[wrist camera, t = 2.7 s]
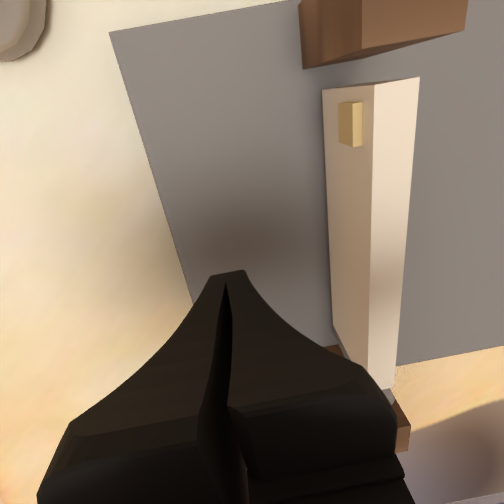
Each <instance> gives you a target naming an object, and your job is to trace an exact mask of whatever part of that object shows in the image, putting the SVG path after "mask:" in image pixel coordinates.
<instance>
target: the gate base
mask: <svg viewBox="0 0 504 504" xmlns="http://www.w3.org/2000/svg"><path fill="white" fill-rule="evenodd" d="M301 1H302V0H287V1H281V2H275V3H270V4H264V5H259V6H253V7H247V8H242V9H236V10H231V11H225V12H219V13H214V14H208V15H202V16H197V17H191V18H186V19H180V20H174V21H169V22H163V23H158V24H152V25H146V26H141V27H135V28H130V29H124V30H118V31H113V32H109V36H110V39H111V42H112V45H113V48H114V52H115V55H116V58H117V61H118V64H119V68H120V71H121V74H122V77H123V80H124V84H125V87H126V90H127V93H128V96H129V100H130V103H131V106H132V109H133V113H134V116H135V119H136V122H137V125H138V129H139V132H140V135H141V138H142V141H143V145H144V148H145V151H146V154H147V157H148V161H149V164H150V167H151V170H152V173H153V177H154V180H155V183H156V186H157V189H158V193H159V196H160V199H161V202H162V205H163V209H164V212H165V215H166V218H167V221H168V225H169V228H170V231H171V234H172V237H173V241H174V244H175V247H176V250H177V253H178V257H179V260H180V263H181V266H182V269H183V273H184V276H185V279H186V282H187V285H188V289H189V292H190V295H191V298H192V301H193V305H194V303H195V302H196V300H197V299H198V297H199V295H200V293H201V292H202V290H203V288H204V286H205V284H206V282H207V280H208V278H209V277H210V276H211V275H216V274H221V273H226V272H232V271H237V270H242V269H243V270H244V271H246V273H247V276H248V278H249V280H250V281H251V283H252V285H253V286H254V288H255V289H256V290H257V292H258V293H259V294H260V295H261V297H262V298H263V299H264V300H265V301H266V303H267V304H268V305H269V306H270V307H271V308H272V309H273V310H274V311H275V312H276V313H277V314H278V315H279V316H280V317H281V318H283V319H284V320H285V321H286V322H287V323H288V324H290V325H291V326H292V327H293V328H295V329H296V330H297V331H299V332H300V333H302V334H303V335H305V336H306V337H308V338H309V339H311V340H312V341H314V342H315V343H317V344H318V345H320V346H322V347H326V346H331V345H336V344H338V342H337V340H336V338H335V336H334V334H333V331H332V330H333V327H334V326H333V315H332V294H331V273H330V252H329V231H328V209H327V188H326V167H325V146H324V125H323V104H322V90H323V89H329V88H334V87H340V86H345V85H351V84H359V83H368V82H377V81H386V80H395V79H404V78H413V77H420V82H419V94H418V106H417V118H416V130H415V142H414V153H413V165H412V177H411V189H410V201H409V213H408V225H407V237H406V248H405V260H404V272H403V284H402V296H401V308H400V320H399V332H398V343H397V355H396V366H401V365H406V364H411V363H416V362H421V361H427V360H432V359H437V358H442V357H447V356H452V355H457V354H463V353H468V352H473V351H478V350H483V349H488V348H493V347H498V346H504V0H468V8H467V15H466V22H465V30H464V31H460V32H457V33H453V34H450V35H446V36H442V37H439V38H435V39H432V40H428V41H425V42H421V43H417V44H414V45H410V46H407V47H403V48H400V49H396V50H393V51H389V52H385V53H382V54H378V55H375V56H371V57H368V58H364V59H359V60H354V61H348V62H342V63H337V64H331V65H326V66H320V67H315V68H309V69H304V70H303V69H302V55H301V41H300V27H299V13H298V5H299V4H300V3H301Z"/></svg>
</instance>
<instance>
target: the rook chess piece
mask: <svg viewBox="0 0 504 504" xmlns="http://www.w3.org/2000/svg"><path fill="white" fill-rule="evenodd" d="M45 11H46V0H0V61H14V60H15V59H17V58H19V57H21V56H22V55H24V54H26V53H28V52H29V51H31V50H32V49H33V48H34V46H35V44H36V42H37V41H38V39H39V37H40V35H41V34H42V32H43V30H44V24H45Z"/></svg>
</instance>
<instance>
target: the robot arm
mask: <svg viewBox="0 0 504 504" xmlns="http://www.w3.org/2000/svg"><path fill="white" fill-rule="evenodd" d="M397 429H398V422H397V415H396V413H395V412H394V409H393V407H392V405H391V404H390V402H389V400H388V399H387V397H386V396H385V394H384V393H383V391H382V390H381V389H380V387H379V386H378V385H377V383H376V382H375V381H374V379H373V378H372V377H371V376H370V374H369V373H368V372H367V371H366V369H365V368H364V367H363V366H361V365H359V364H357V363H355V362H353V361H350V360H348V359H346V358H344V357H342V356H339V355H337V354H335V353H333V352H331V351H329V350H327V349H325V348H323V347H322V346H320V345H318V344H317V343H315V342H314V341H312V340H311V339H309V338H308V337H306V336H305V335H303V334H302V333H300V332H299V331H297V330H296V329H295V328H293V327H292V326H291V325H290V324H288V323H287V322H286V321H285V320H284V319H283V318H281V317H280V316H279V315H278V314H277V313H276V312H275V311H274V310H273V309H272V308H271V307H270V306H269V305H268V304H267V303H266V301H265V300H264V299H263V298H262V297H261V295H260V294H259V293H258V292H257V290H256V289H255V288H254V286H253V285H252V283H251V281H250V280H249V278H248V276H247V273H246V271H244V270H243V269H242V270H237V271H232V272H226V273H221V274H216V275H211V276H210V277H209V278H208V280H207V282H206V284H205V286H204V288H203V290H202V292H201V293H200V295H199V297H198V299H197V300H196V302H195V303H194V305H193V307H192V308H191V310H190V311H189V313H188V314H187V316H186V317H185V319H184V320H183V321H182V323H181V324H180V326H179V327H178V328H177V330H176V331H175V332H174V334H173V335H172V336H171V337H170V338H169V339H168V341H167V342H166V343H165V344H164V345H163V346H162V347H161V348H160V349H159V350H158V351H157V352H156V353H155V354H154V355H153V356H152V357H151V358H150V359H149V360H148V361H147V362H146V363H145V364H144V365H143V366H142V367H141V368H140V369H139V370H138V371H137V372H136V373H134V374H133V375H132V376H131V377H130V378H129V379H127V380H126V381H125V382H124V383H123V384H121V385H120V386H119V387H118V388H116V389H115V390H114V391H113V392H111V393H110V394H109V395H108V396H106V397H105V398H104V399H102V400H101V401H99V402H98V403H97V404H95V405H94V406H92V407H91V408H90V409H88V410H87V411H85V412H84V413H83V414H81V415H80V416H78V417H77V418H75V419H74V420H72V421H71V422H70V423H69V425H68V427H67V429H66V431H65V433H64V435H63V437H62V439H61V441H60V443H59V445H58V447H57V449H56V451H55V454H54V456H53V458H52V460H51V463H50V465H49V467H48V469H47V472H46V474H45V476H44V478H43V480H42V483H41V485H40V487H39V490H38V492H37V503H38V504H415V502H414V500H413V498H412V496H411V494H410V492H409V490H408V488H407V486H406V483H405V481H404V480H403V478H404V476H405V474H404V471H403V468H402V466H401V464H400V462H399V460H398V458H397V456H396V454H395V448H396V439H397ZM447 504H504V492H501V493H496V494H491V495H487V496H481V497H476V498H471V499H466V500H462V501H456V502H451V503H447Z"/></svg>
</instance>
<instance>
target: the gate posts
mask: <svg viewBox="0 0 504 504" xmlns="http://www.w3.org/2000/svg"><path fill="white" fill-rule="evenodd" d="M467 8H468V0H302V1H301V3H300V4H299V5H298V13H299V27H300V41H301V55H302V69H303V70H304V69H309V68H315V67H320V66H326V65H331V64H337V63H342V62H348V61H354V60H359V59H364V58H368V57H371V56H375V55H378V54H382V53H385V52H389V51H393V50H396V49H400V48H403V47H407V46H410V45H414V44H417V43H421V42H425V41H428V40H432V39H435V38H439V37H442V36H446V35H450V34H453V33H457V32H460V31H464V30H465V22H466V15H467ZM323 348H325V349H327V350H329V351H331V352H333V353H335V354H337V355H339V356H342V357H344V355H343V353H342V350H341V348H340V346H339V344H336V345H331V346H326V347H323ZM344 358H345V357H344ZM392 407H393V409H394V412H395V413H396V415H397V422H398V429H397V439H396V448H395V453H399V452H404V451H408V444H409V437H410V429H411V425H410V423H409V421H408V420H407V418H406V416H405V414H404V413H403V411H402V409H401V408H400V406H399V404H398V403H397V401H396V399H395V401H394V403H393V404H392Z"/></svg>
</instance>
